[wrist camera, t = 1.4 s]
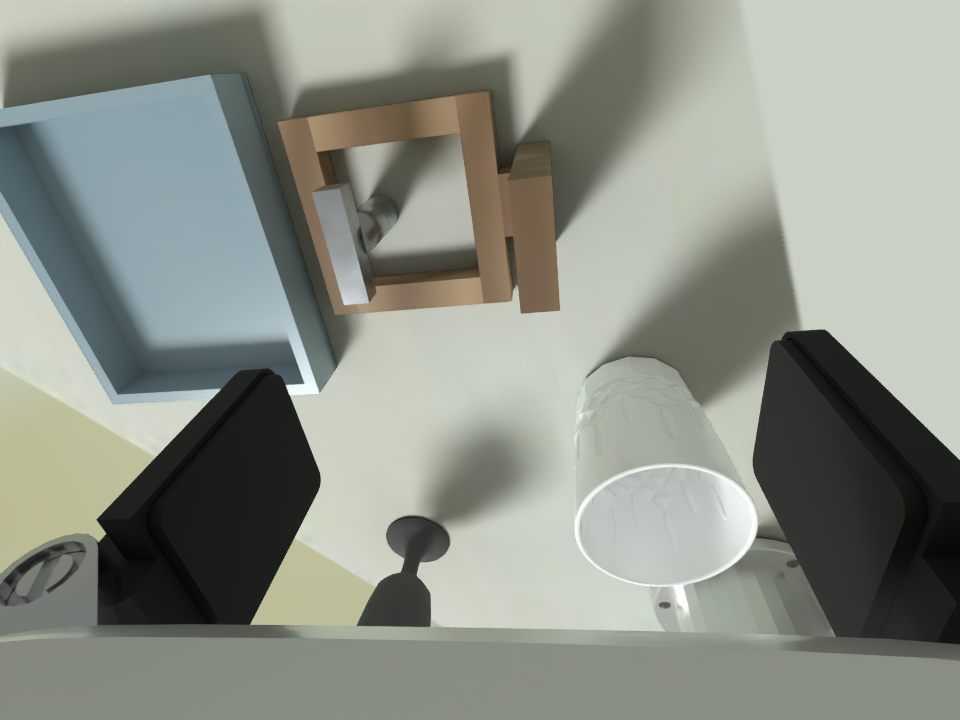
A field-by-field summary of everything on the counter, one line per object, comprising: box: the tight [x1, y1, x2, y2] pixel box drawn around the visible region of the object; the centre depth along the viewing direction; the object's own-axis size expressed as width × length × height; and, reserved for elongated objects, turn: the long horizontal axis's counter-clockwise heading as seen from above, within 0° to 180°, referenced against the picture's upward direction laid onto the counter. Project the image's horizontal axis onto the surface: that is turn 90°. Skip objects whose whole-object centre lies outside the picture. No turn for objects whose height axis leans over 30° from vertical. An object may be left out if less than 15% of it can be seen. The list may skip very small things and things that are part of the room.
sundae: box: [357, 517, 449, 627], centre depth 34 cm, size 7×7×15 cm
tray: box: [0, 73, 337, 404], centre depth 28 cm, size 14×16×3 cm
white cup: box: [574, 357, 759, 587], centre depth 27 cm, size 8×8×10 cm
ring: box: [277, 90, 560, 315], centre depth 23 cm, size 12×10×8 cm
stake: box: [312, 183, 398, 305], centre depth 25 cm, size 2×5×6 cm, turn 8°
